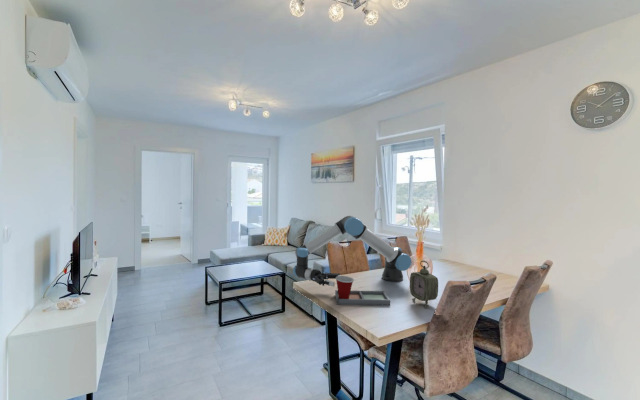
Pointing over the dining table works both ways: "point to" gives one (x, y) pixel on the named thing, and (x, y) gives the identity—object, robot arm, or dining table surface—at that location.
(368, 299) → the organiser tray
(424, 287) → the tabletop clock
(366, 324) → the dining table surface
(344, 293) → the plastic cup
